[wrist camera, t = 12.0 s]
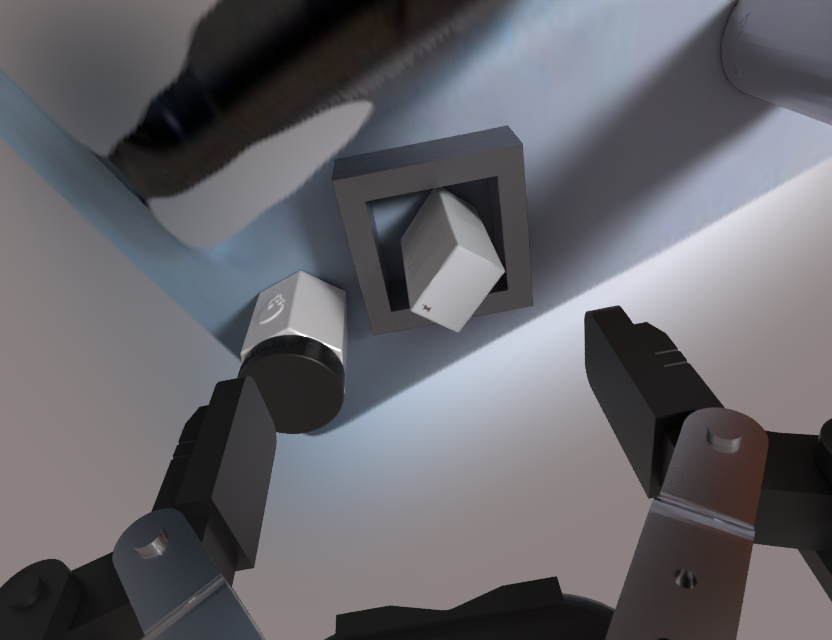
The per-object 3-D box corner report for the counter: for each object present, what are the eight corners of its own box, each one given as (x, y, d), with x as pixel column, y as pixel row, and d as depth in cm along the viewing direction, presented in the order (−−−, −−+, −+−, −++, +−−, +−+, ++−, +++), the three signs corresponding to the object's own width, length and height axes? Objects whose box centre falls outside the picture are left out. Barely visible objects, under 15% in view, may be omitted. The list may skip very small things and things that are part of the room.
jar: (320, 256, 49) (307, 333, 39) (368, 321, 53) (368, 406, 43) (238, 300, 51) (206, 385, 41) (291, 360, 55) (274, 450, 45)
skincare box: (439, 260, 50) (457, 336, 40) (399, 238, 48) (407, 312, 38) (478, 205, 47) (507, 272, 37) (436, 180, 46) (455, 243, 36)
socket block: (507, 125, 44) (522, 143, 40) (519, 277, 51) (533, 305, 47) (335, 159, 44) (331, 181, 40) (372, 304, 52) (373, 335, 48)
